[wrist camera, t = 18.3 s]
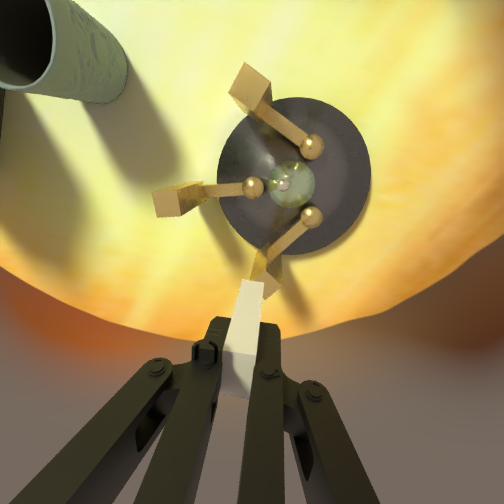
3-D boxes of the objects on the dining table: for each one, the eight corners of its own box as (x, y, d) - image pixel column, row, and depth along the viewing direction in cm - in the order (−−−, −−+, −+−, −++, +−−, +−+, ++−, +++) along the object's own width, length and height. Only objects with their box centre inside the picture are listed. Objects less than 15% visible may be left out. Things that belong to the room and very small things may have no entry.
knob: (263, 175, 33) (257, 183, 24) (264, 197, 34) (259, 212, 25) (184, 181, 34) (151, 190, 25) (188, 202, 35) (157, 218, 26)
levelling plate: (319, 60, 30) (322, 53, 27) (392, 203, 34) (400, 207, 32) (190, 163, 35) (184, 163, 33) (269, 273, 40) (269, 280, 38)
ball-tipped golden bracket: (311, 201, 34) (324, 218, 25) (325, 216, 34) (342, 238, 25) (255, 252, 37) (248, 284, 28) (268, 265, 38) (265, 300, 28)
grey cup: (148, 66, 31) (77, 17, 20) (105, 129, 35) (23, 117, 23) (81, -7, 29) (-39, -106, 18) (41, 67, 33) (-81, 21, 21)
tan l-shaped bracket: (327, 143, 31) (347, 139, 22) (312, 163, 32) (326, 167, 23) (255, 89, 30) (245, 60, 21) (242, 112, 31) (227, 93, 22)
